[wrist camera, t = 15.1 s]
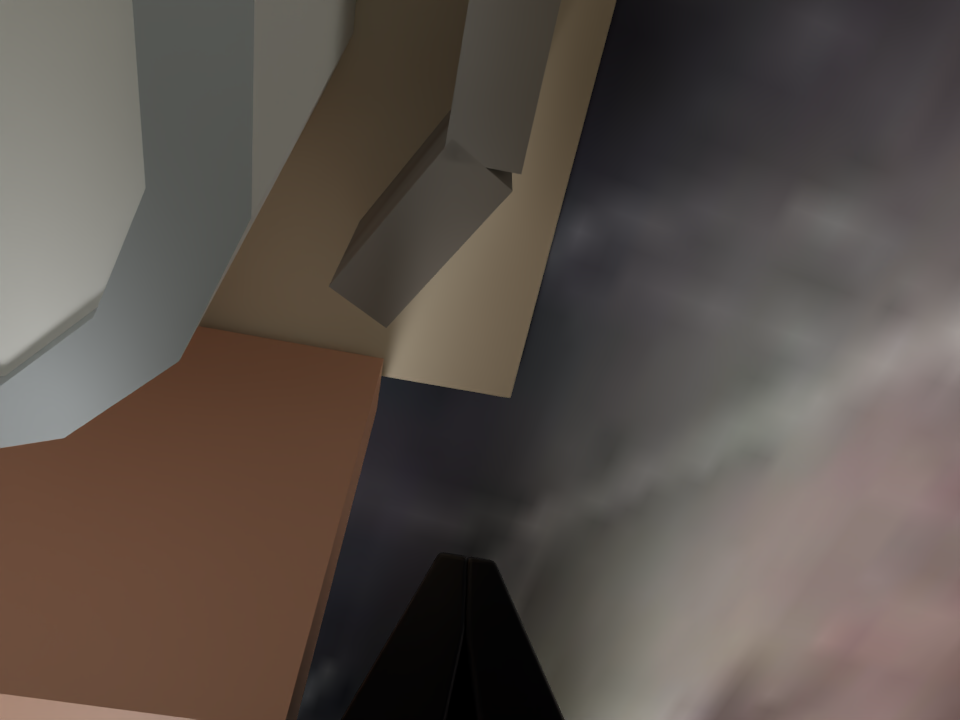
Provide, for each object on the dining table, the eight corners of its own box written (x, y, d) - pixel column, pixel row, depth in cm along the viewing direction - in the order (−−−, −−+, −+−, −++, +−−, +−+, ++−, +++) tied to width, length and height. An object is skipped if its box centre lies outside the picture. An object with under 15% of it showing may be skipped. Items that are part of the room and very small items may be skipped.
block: (383, 358, 13) (282, 730, 7) (376, 409, 13) (278, 790, 8) (-66, 279, 12) (-597, 614, 6) (-51, 336, 13) (-520, 690, 7)
